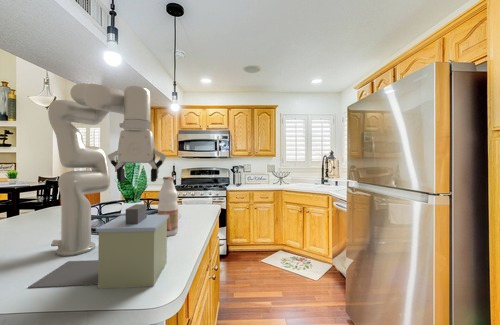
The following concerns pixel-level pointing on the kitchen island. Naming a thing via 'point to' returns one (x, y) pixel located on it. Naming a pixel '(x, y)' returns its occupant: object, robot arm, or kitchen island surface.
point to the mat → (71, 275)
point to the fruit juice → (169, 205)
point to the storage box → (131, 257)
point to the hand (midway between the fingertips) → (137, 181)
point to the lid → (134, 221)
